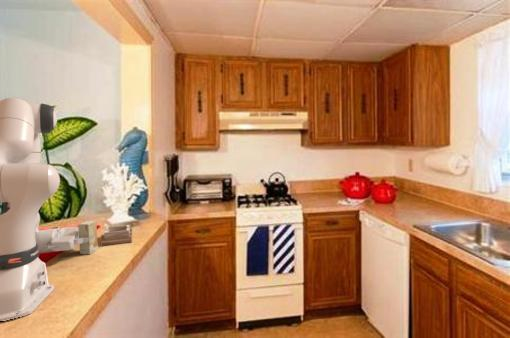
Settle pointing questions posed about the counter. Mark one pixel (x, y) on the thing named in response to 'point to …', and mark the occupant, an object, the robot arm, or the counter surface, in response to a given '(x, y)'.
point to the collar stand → (117, 235)
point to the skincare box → (88, 231)
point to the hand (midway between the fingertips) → (90, 235)
